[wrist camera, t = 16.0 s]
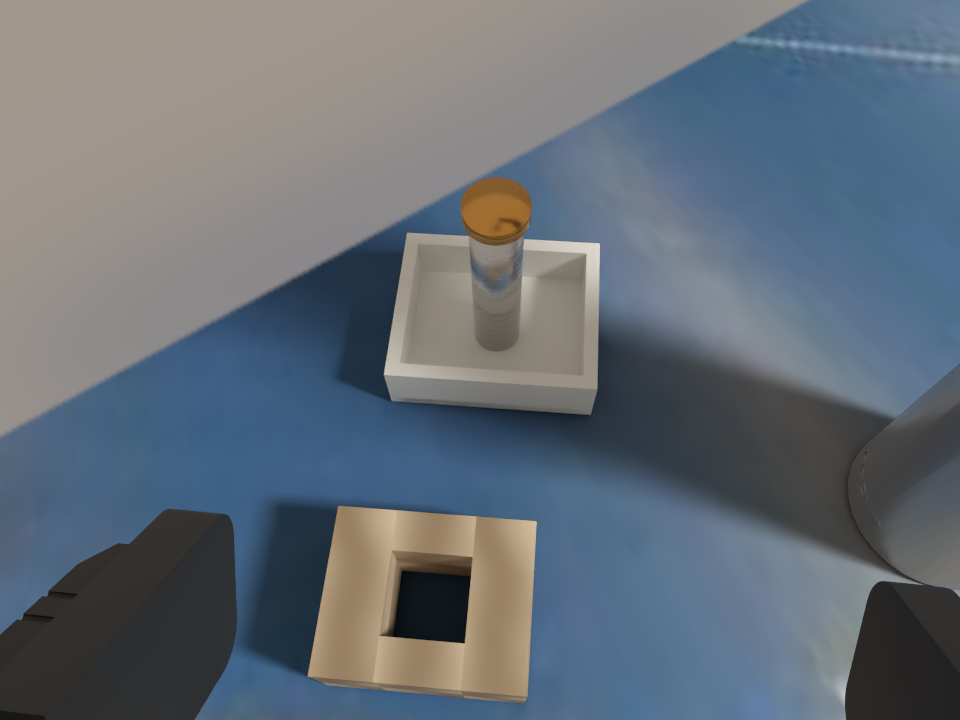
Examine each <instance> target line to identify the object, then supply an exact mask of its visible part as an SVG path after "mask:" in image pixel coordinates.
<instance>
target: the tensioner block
mask: <svg viewBox="0 0 960 720" xmlns="http://www.w3.org/2000/svg"><path fill="white" fill-rule="evenodd" d="M536 523H537V521H526V520H513V519H500V518H488V517H475V516H462V515H449V514H437V513H424V512H411V511H399V510H386V509H373V508H361V507H348V506H338V510H337V516H336V521H335V527H334V533H333V538H332V544H331V549H330V555H329V560H328V566H327V572H326V577H325V583H324V588H323V594H322V599H321V605H320V611H319V616H318V622H317V627H316V633H315V638H314V644H313V650H312V655H311V661H310V666H309V672H308V677H310V678H313V679H315V680H317V681H320V682H322V683H324V684H326V685H332V686H343V687H353V688H364V689H375V690H385V691H396V692H407V693H417V694H428V695H439V696H449V697H460V698H471V699H481V700H492V701H503V702H513V703H524V704H525V701H526V699H527V693H528V674H529V655H530V636H531V617H532V599H533V580H534V561H535V542H536ZM402 571H413V572H425V573H437V574H449V575H461V576H471V582H470V593H469V604H468V615H467V625H466V636H465V644H464V643H453V642H442V641H430V640H419V639H408V638H397V637H393V635H394V627H395V620H396V612H397V605H398V597H399V590H400V582H401V575H402Z"/></svg>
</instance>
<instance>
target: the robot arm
mask: <svg viewBox="0 0 960 720" xmlns="http://www.w3.org/2000/svg"><path fill="white" fill-rule="evenodd" d="M848 500H849V503H850V507H851V511H852V515H853V517H854V519H855V521H856V524H857V526H858V528H859V530H860V532H861V533H862V535H863V536H864V538H865V539H866V540H867V542H868V543H869V544H870V546H871V547H872V548H873V549H874V550H875V551H876V552H877V553H878V554H879V555H880V556H881V557H882V558H883V559H884V560H885V561H886V562H887V563H888V564H890V565H891V566H893V567H894V568H895V569H897V570H898V571H900V572H901V573H903V574H904V575H906V576H908V577H911V578H913V579H915V580H917V581H919V582H921V583H924V584H928V585H931V586H927V585H917V584H906V583H896V582H886V581H881V582H878V583H877V584H876V585H874V587H873V588H872V590H871V592H870V594H869V597H868V600H867V604H866V608H865V612H864V616H863V620H862V625H861V629H860V633H859V637H858V641H857V645H856V649H855V653H854V658H853V662H852V666H851V670H850V674H849V678H848V682H847V687H846V695H845V712H846V720H960V597H959V596H958V595H957V594H956V593H955V592H954V591H952V590H951V589H960V364H958V365H957V366H956V367H955V368H954V369H953V370H952V371H950V372H949V373H948V374H947V375H946V376H945V377H943V378H942V379H941V380H940V381H939V382H938V383H936V384H935V385H934V386H933V387H932V388H931V389H929V390H928V391H927V392H926V393H925V394H924V395H922V396H921V397H920V398H919V399H918V400H917V401H915V402H914V403H913V404H912V405H911V406H910V407H908V408H907V409H906V410H905V411H904V412H903V413H901V414H900V415H899V416H898V417H897V418H895V419H894V420H893V421H892V422H891V423H890V424H889V425H887V426H886V427H885V428H884V429H883V430H882V431H880V432H879V433H878V434H877V435H876V436H875V437H874V438H872V439H871V440H870V441H869V442H868V443H867V444H866V445H865V446H864V447H863V448H862V449H861V450H860V452H859V453H858V454H857V456H856V458H855V460H854V462H853V464H852V466H851V468H850V473H849V478H848ZM236 625H237V608H236V581H235V554H234V532H233V525H232V522H231V519H230V518H229V516H228V515H226V514H218V513H208V512H198V511H188V510H178V509H167V510H165V511H163V512H162V513H161V514H160V515H159V516H158V517H157V518H156V519H155V520H154V521H153V522H152V523H151V524H150V525H148V526H147V527H146V528H145V529H144V530H143V531H142V532H141V533H140V534H139V535H138V536H137V537H136V538H135V539H134V540H133V541H132V542H131V543H130V544H120V543H118V544H116V545H114V546H112V547H110V548H108V549H106V550H105V551H103V552H101V553H99V554H97V555H95V556H93V557H91V558H89V559H87V560H85V561H83V562H81V563H79V564H78V565H76V566H75V567H74V568H73V569H72V570H71V571H70V572H69V573H68V574H67V575H65V576H64V577H63V578H62V579H61V580H60V581H59V582H58V583H57V584H56V585H54V586H53V587H52V588H51V589H50V590H49V593H48V596H47V597H45V596H42V597H41V598H40V599H39V600H38V601H37V602H36V603H35V604H34V605H32V606H31V607H30V608H29V609H28V610H27V611H26V612H25V613H24V615H23V619H22V620H16V621H15V622H14V623H13V624H12V625H11V626H9V627H8V628H7V629H6V630H5V631H4V632H3V633H2V634H1V635H0V720H195V718H196V716H197V715H198V713H199V711H200V710H201V708H202V706H203V705H204V703H205V701H206V700H207V698H208V697H209V695H210V693H211V692H212V690H213V688H214V687H215V685H216V683H217V682H218V680H219V678H220V677H221V675H222V673H223V672H224V670H225V668H226V666H227V663H228V661H229V658H230V655H231V652H232V649H233V644H234V640H235V634H236Z"/></svg>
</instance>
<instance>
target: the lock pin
mask: <svg viewBox="0 0 960 720" xmlns="http://www.w3.org/2000/svg"><path fill="white" fill-rule="evenodd" d="M531 207H532V205H531V198H530V196H529V194H528V192H527V191H526V189H525V188H524V187H523V186H521V185H520V184H518V183H517V182H515V181H513V180H510V179H506V178H499V177H494V178H487V179H483V180H481V181H478V182H476V183H475V184H473V185H472V186H470V187H469V188H468V189H467V191H466V192H465V193H464V195H463V198H462V201H461V214H462V224H463V227H464V229H465V231H466V232H467V234H468V235H469V245H470V262H471V279H472V296H473V313H474V329H475V337H476V340H477V341H478V343H479V344H480V345H481V346H482V347H484V348H485V349H487V350H490V351H504V350H507V349H509V348H511V347H512V346H513V345H514V344H515V343H516V342H517V340H518V338H519V333H520V311H521V289H522V267H523V245H524V234H525V233H526V231H527V230H528V228H529V225H530V221H531Z"/></svg>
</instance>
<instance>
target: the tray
mask: <svg viewBox="0 0 960 720" xmlns="http://www.w3.org/2000/svg"><path fill="white" fill-rule="evenodd" d="M599 261H600V244H599V243H581V242H563V241H545V240H527V239H524V245H523V267H522V289H521V311H520V333H519V338H518V340H517V342H516V343H515V344H514V345H513V346H512V347H511V348H509V349H507V350H504V351H490V350H487V349H485V348H484V347H482V346H481V345H480V344H479V343H478V341H477V340H476V337H475V329H474V313H473V296H472V279H471V262H470V245H469V236H455V235H437V234H419V233H407V237H406V243H405V249H404V255H403V261H402V267H401V273H400V279H399V285H398V291H397V298H396V304H395V310H394V316H393V322H392V328H391V334H390V340H389V346H388V352H387V358H386V364H385V371H384V377H385V381H386V384H387V387H388V391H389V394H390V397H391V400H392V401H399V402H413V403H427V404H442V405H456V406H470V407H485V408H499V409H514V410H528V411H542V412H557V413H571V414H585V415H591V412H592V408H593V404H594V401H595V397H596V393H597V385H598V323H599Z"/></svg>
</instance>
